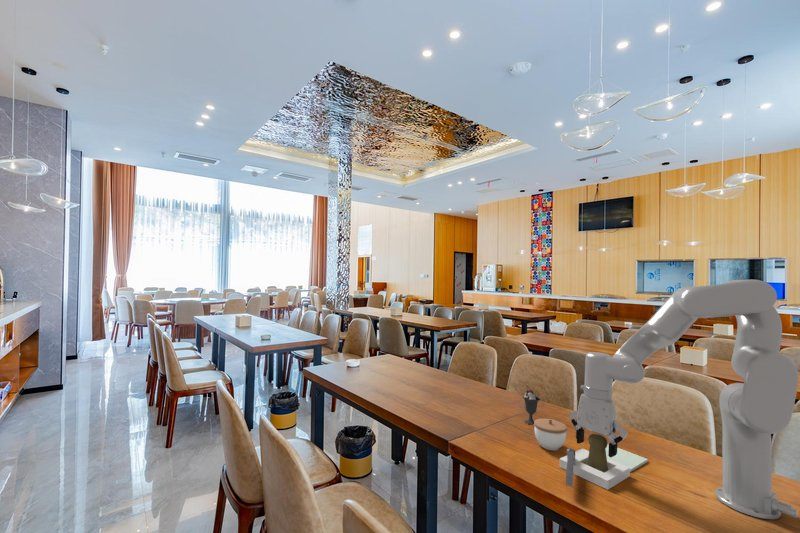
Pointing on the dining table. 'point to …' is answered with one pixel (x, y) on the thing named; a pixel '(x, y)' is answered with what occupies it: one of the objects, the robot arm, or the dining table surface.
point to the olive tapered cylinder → (597, 452)
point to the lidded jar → (550, 433)
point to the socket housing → (593, 475)
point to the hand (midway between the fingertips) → (595, 449)
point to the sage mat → (627, 458)
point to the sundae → (530, 404)
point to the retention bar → (570, 466)
